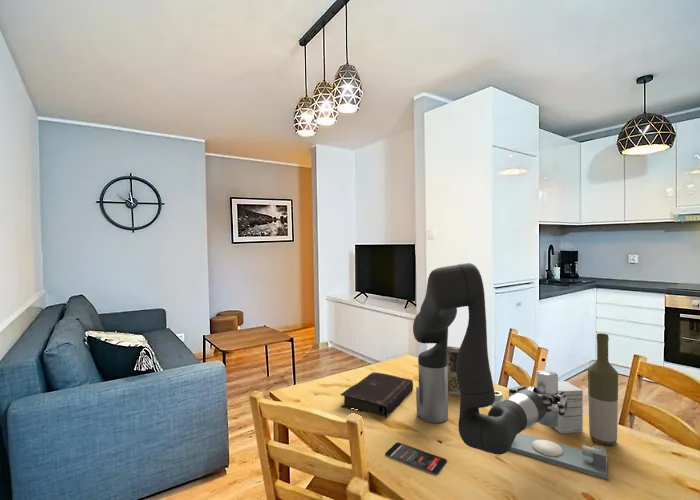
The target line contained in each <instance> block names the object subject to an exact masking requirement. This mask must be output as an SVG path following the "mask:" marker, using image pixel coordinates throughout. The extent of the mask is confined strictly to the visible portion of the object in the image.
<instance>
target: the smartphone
mask: <svg viewBox="0 0 700 500" xmlns="http://www.w3.org/2000/svg"><path fill="white" fill-rule="evenodd" d="M384 456H385V457H387V458H389V459H391V460H394V461H396V462H400V463H402V464H404V465H407V466H409V467H413V468H415V469H417V470H420V471H424V472H425V473H428V474H431V475H434V476H438V475H439V474H440V473H441V472H442V470H443V469H444V467H445V465H446V464H447V463H448V460H447V458H444V457H441V456H438V455H435V454H432V453H431V452H427V451H424V450H421V449H419V448H415V447H413V446H409V445H406V444H403V443H401V442H395V443H394V444H393V445H392V446H391V447H390V448H389V449H387V450H386V452H384Z"/></svg>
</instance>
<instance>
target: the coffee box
mask: <svg viewBox="0 0 700 500" xmlns="http://www.w3.org/2000/svg"><path fill="white" fill-rule="evenodd" d="M459 349H460V347H455V346H448V345H447V373H448V394H449V395H450V394H451V395H456V396H459V397H461V394H460V389H459V384H458V378H457V373H456V360H457V355H458V352H459Z"/></svg>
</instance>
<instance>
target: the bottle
mask: <svg viewBox="0 0 700 500" xmlns="http://www.w3.org/2000/svg"><path fill="white" fill-rule="evenodd" d="M609 340H610V339H609V334H607V333H601V332H600V333H596V361H594V362H593V363H592V364H591V365H590V366H589V367H587V391H588V392H587V394H588V395H587V396H588V399H587V400H588V427H589V435H590V438H591V439H592V440H593V441H595V442H596V443H600V444H603V445H608V446H610V445H611V446H612V445H616V443H617V441H618V412H619V411H618V409H619V408H618V407H619V372H618V371H617V369H616V368H614V366H613V365H612V364H611V363H610V362H609Z"/></svg>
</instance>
